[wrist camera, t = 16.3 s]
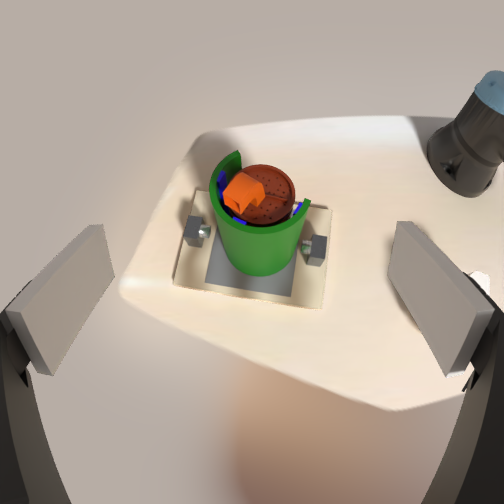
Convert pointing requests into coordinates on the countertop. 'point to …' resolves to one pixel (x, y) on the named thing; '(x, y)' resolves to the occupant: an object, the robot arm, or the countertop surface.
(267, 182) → the green plastic cylinder
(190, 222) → the knobbed dark grey block
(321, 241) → the grey block with stub
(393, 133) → the countertop surface
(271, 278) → the mount plate
